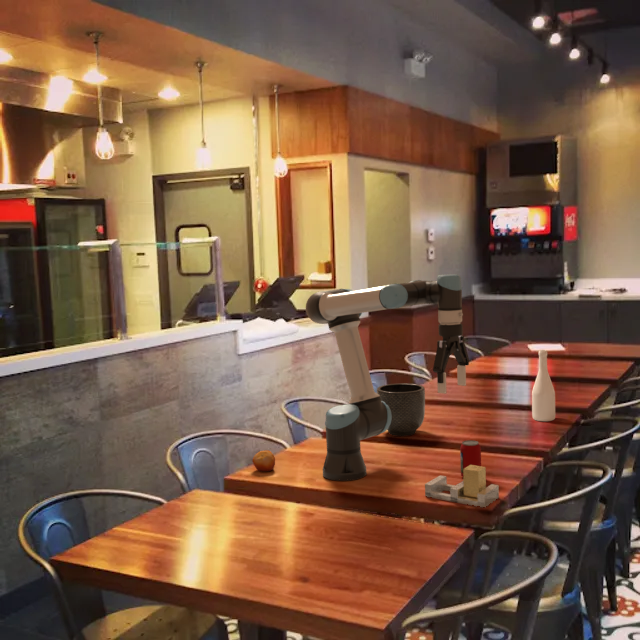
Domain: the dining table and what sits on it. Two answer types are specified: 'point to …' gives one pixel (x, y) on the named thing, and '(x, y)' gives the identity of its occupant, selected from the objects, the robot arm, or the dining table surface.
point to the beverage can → (470, 454)
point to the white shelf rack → (460, 492)
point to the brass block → (474, 480)
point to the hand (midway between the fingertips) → (452, 389)
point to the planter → (404, 407)
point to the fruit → (264, 461)
